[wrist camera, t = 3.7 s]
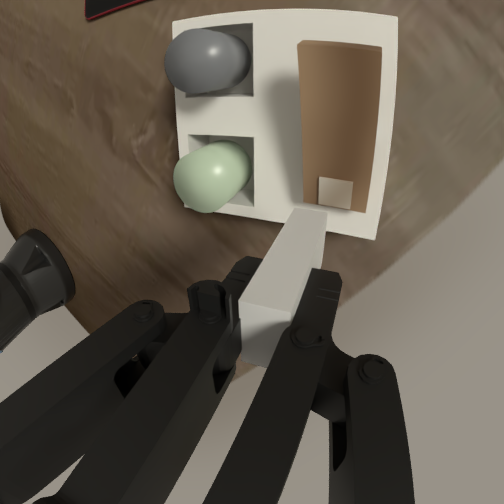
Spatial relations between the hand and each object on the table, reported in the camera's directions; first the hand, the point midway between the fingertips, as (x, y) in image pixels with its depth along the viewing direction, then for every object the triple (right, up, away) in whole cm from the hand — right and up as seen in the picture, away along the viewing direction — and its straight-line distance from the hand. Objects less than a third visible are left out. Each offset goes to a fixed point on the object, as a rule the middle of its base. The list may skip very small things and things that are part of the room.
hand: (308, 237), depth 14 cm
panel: (0, +10, +8) cm, 13 cm away
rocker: (+2, +6, +2) cm, 6 cm away
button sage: (-5, +6, +9) cm, 12 cm away
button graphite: (-5, +12, +5) cm, 14 cm away
